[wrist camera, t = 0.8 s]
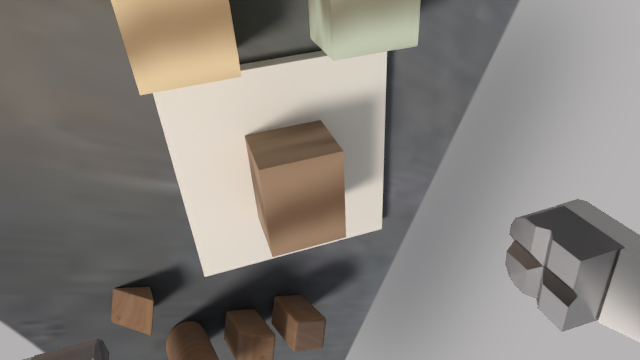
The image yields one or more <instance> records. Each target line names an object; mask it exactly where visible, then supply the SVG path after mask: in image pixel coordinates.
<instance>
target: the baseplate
mask: <svg viewBox="0 0 640 360" xmlns="http://www.w3.org/2000/svg"><path fill="white" fill-rule="evenodd" d="M240 70H241V76H242V77H237V78H232V79H226V80H221V81H215V82H210V83H204V84H199V85H193V86H188V87H182V88H177V89H171V90H166V91H160V92H155V93H153V95H154V99H155V102H156V106H157V110H158V113H159V117H160V120H161V124H162V127H163V131H164V134H165V138H166V141H167V145H168V148H169V152H170V155H171V159H172V163H173V166H174V170H175V173H176V177H177V180H178V184H179V187H180V191H181V194H182V198H183V201H184V205H185V208H186V212H187V216H188V219H189V223H190V226H191V230H192V233H193V237H194V240H195V244H196V247H197V251H198V254H199V258H200V261H201V265H202V269H203V272H204V276H205V277H206V276H210V275H214V274H217V273H221V272H225V271H228V270H232V269H236V268H239V267H243V266H247V265H250V264H254V263H258V262H262V261H265V260H269V259H273V258H276V257H280V256H284V255H287V254H291V253H295V252H298V251H302V250H306V249H309V248H313V247H317V246H320V245H324V244H328V243H331V242H335V241H339V240H342V239H346V238H350V237H354V236H357V235H361V234H365V233H368V232H372V231H376V230H379V229H382V206H383V172H384V138H385V104H386V70H387V51H386V52H380V53H375V54H369V55H363V56H358V57H352V58H346V59H341V60H335V61H333V60H332V59H331V58H330V57H329V56H328V55H327V54H326V53H325V52H324V51H323V50H322V51H316V52H311V53H305V54H299V55H293V56H287V57H281V58H275V59H269V60H264V61H258V62H252V63H246V64H240ZM318 120H321V121H322V123H323V124H324V125H325V127H326V128H327V129H328V131H329V132H330V133H331V135H332V136H333V137H334V139H335V140H336V142H337V143H338V144H339V146H340V147H341V148H342V150H343V151H344V183H345V216H346V237H345V238H342V239H338V240H334V241H330V242H327V243H323V244H319V245H316V246H312V247H308V248H305V249H301V250H297V251H294V252H290V253H286V254H283V255H279V256H275V257H272V254H271V252H270V249H269V246H268V243H267V240H266V238H265V235H264V232H263V229H262V226H261V224H260V221H259V218H258V212H257V206H256V200H255V194H254V188H253V183H252V177H251V171H250V165H249V159H248V153H247V147H246V141H245V135H250V134H255V133H260V132H265V131H269V130H274V129H279V128H284V127H289V126H294V125H299V124H303V123H308V122H313V121H318Z"/></svg>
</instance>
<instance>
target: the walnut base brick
mask: <svg viewBox="0 0 640 360" xmlns="http://www.w3.org/2000/svg"><path fill="white" fill-rule="evenodd" d="M245 141H246V147H247V153H248V159H249V165H250V171H251V177H252V183H253V188H254V194H255V200H256V206H257V212H258V218H259V221H260V224H261V226H262V229H263V232H264V235H265V238H266V240H267V243H268V246H269V249H270V252H271V254H272V257H275V256H279V255H283V254H286V253H290V252H294V251H297V250H301V249H305V248H308V247H312V246H316V245H319V244H323V243H327V242H330V241H334V240H338V239H342V238H345V237H346V216H345V183H344V151H343V150H342V148H341V147H340V146H339V144H338V143H337V142H336V140H335V139H334V137H333V136H332V135H331V133H330V132H329V131H328V129H327V128H326V127H325V125H324V124H323V123H322V121H321V120H318V121H313V122H308V123H303V124H299V125H294V126H289V127H284V128H279V129H274V130H269V131H265V132H260V133H255V134H250V135H245Z"/></svg>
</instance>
